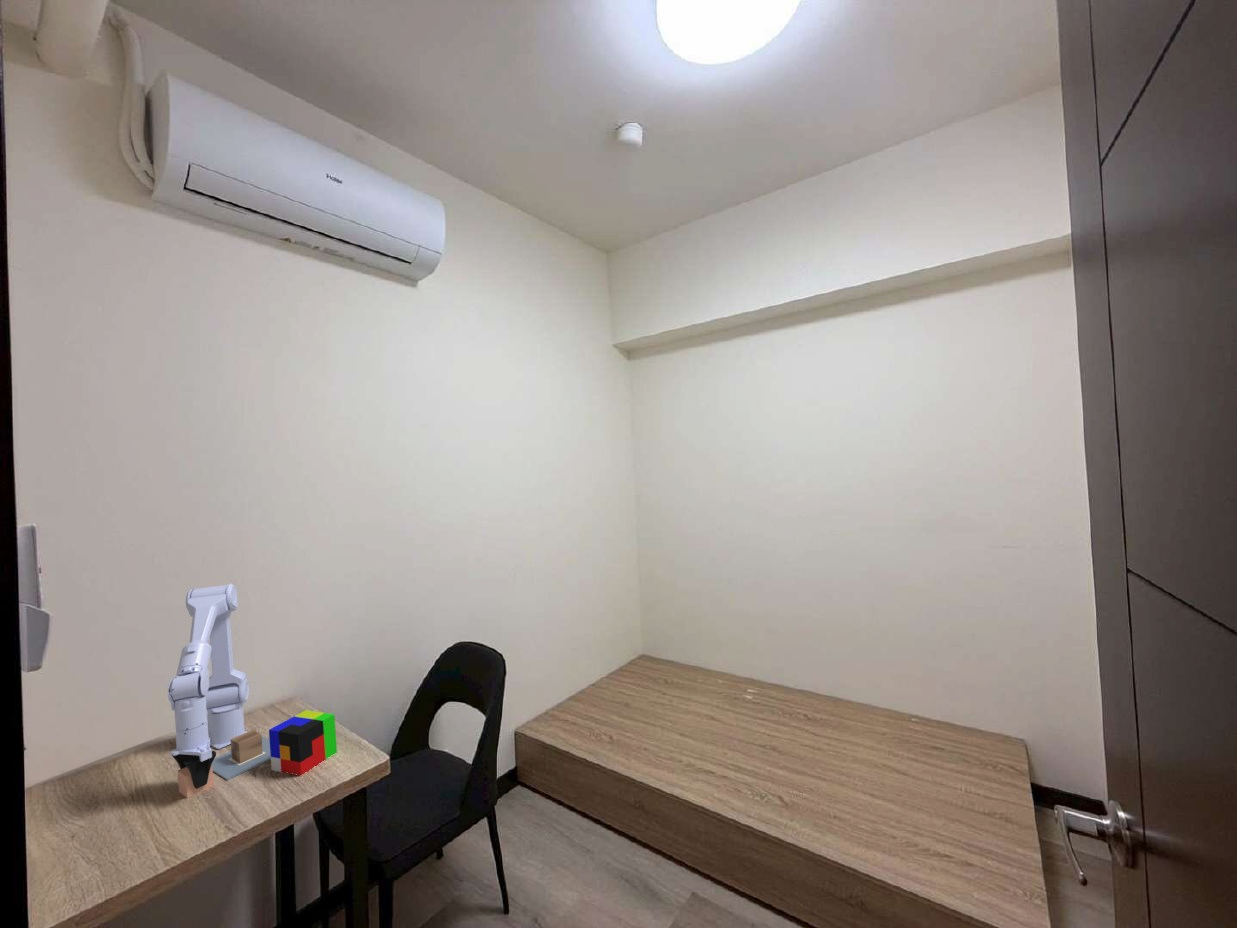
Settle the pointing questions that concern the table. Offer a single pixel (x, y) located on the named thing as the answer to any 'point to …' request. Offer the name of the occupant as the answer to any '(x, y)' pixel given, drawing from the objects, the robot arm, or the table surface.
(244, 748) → the walnut block
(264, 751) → the plate
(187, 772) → the terracotta block
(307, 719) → the puzzle toy
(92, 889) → the table surface
